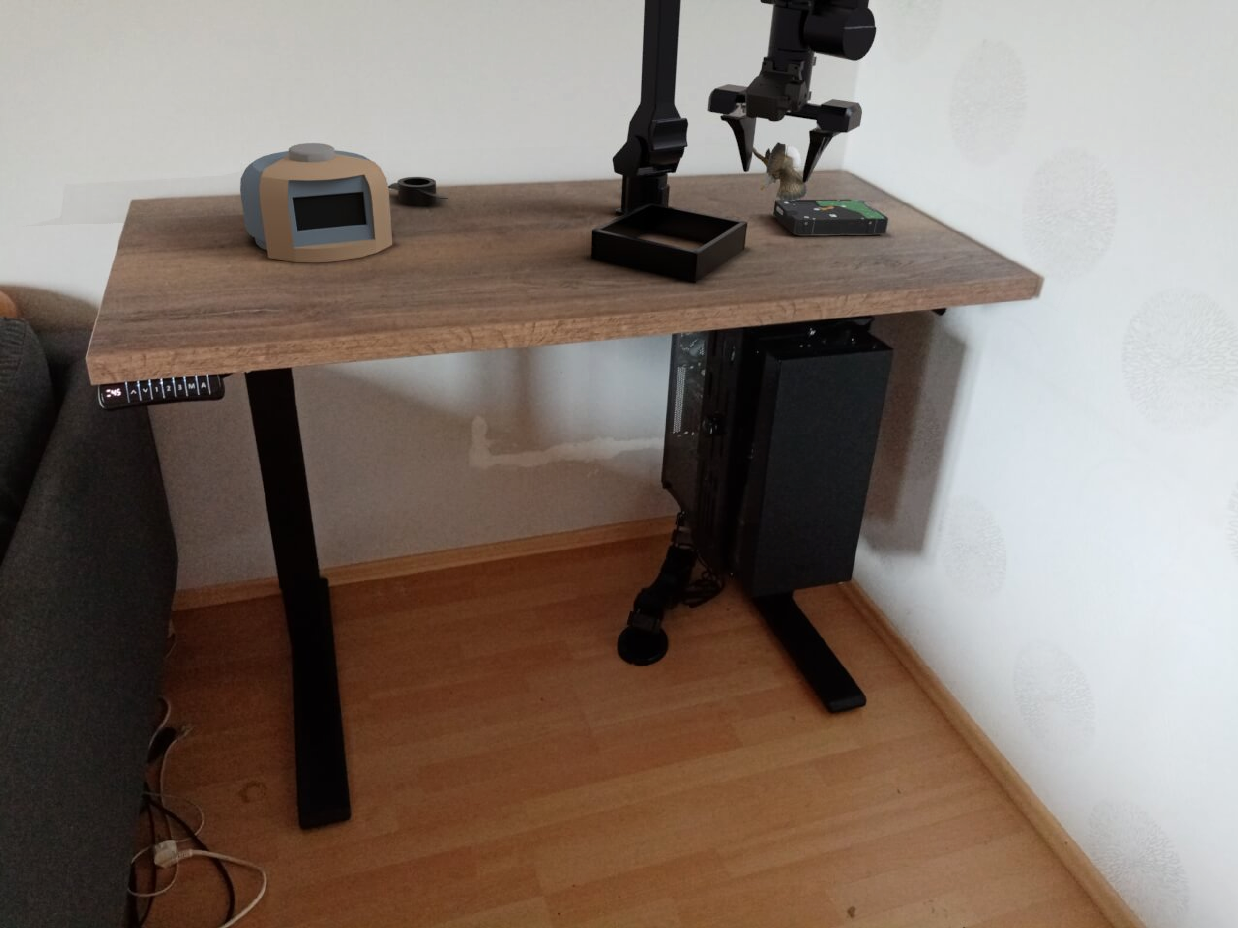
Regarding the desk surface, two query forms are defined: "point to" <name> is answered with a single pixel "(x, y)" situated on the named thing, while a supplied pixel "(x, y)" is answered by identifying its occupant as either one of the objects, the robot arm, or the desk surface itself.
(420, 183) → the duct tape
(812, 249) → the desk surface
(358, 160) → the alarm clock
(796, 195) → the eagle figurine
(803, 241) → the desk surface
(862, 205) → the disk drive
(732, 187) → the desk surface
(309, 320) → the desk surface
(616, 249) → the desk tidy
